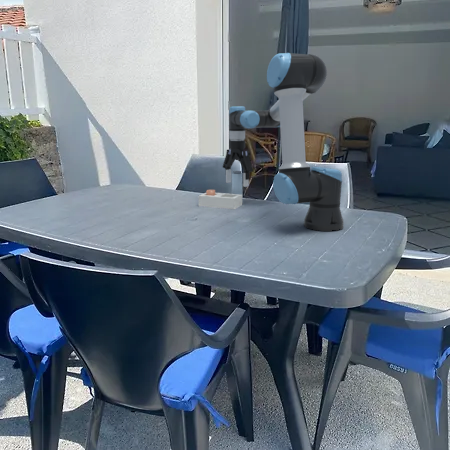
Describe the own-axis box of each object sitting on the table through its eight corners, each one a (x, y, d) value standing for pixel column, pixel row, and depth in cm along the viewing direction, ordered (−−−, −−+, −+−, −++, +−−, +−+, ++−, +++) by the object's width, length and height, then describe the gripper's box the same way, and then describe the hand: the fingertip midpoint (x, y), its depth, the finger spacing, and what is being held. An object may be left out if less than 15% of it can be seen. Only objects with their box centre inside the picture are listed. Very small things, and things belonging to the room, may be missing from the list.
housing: (234, 211, 194) (234, 198, 192) (198, 208, 201) (198, 195, 199) (242, 207, 203) (242, 194, 201) (207, 204, 209) (207, 191, 208)
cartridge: (244, 204, 209) (244, 171, 205) (236, 205, 206) (236, 172, 202) (238, 202, 213) (238, 170, 209) (230, 203, 210) (229, 171, 206)
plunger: (213, 202, 200) (213, 191, 199) (205, 202, 202) (204, 190, 200) (216, 201, 204) (216, 189, 203) (208, 200, 206) (208, 189, 204)
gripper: (260, 141, 194) (260, 187, 200) (227, 138, 214) (227, 180, 219) (248, 141, 190) (247, 188, 196) (215, 139, 209) (215, 182, 215)
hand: (237, 184), depth 207 cm, fingers open, 13 cm apart
